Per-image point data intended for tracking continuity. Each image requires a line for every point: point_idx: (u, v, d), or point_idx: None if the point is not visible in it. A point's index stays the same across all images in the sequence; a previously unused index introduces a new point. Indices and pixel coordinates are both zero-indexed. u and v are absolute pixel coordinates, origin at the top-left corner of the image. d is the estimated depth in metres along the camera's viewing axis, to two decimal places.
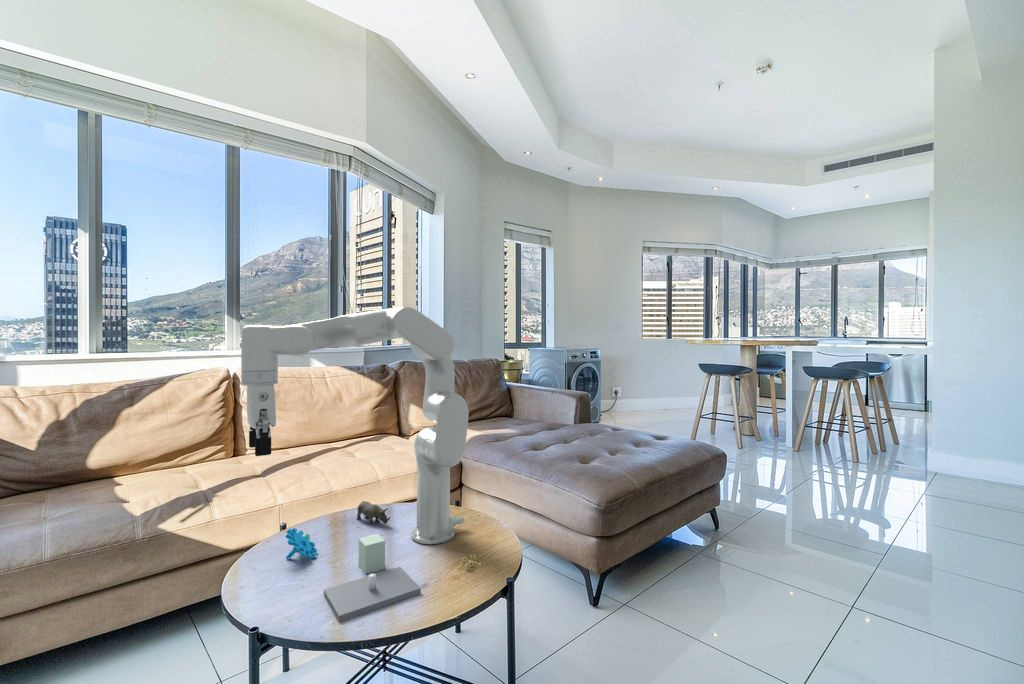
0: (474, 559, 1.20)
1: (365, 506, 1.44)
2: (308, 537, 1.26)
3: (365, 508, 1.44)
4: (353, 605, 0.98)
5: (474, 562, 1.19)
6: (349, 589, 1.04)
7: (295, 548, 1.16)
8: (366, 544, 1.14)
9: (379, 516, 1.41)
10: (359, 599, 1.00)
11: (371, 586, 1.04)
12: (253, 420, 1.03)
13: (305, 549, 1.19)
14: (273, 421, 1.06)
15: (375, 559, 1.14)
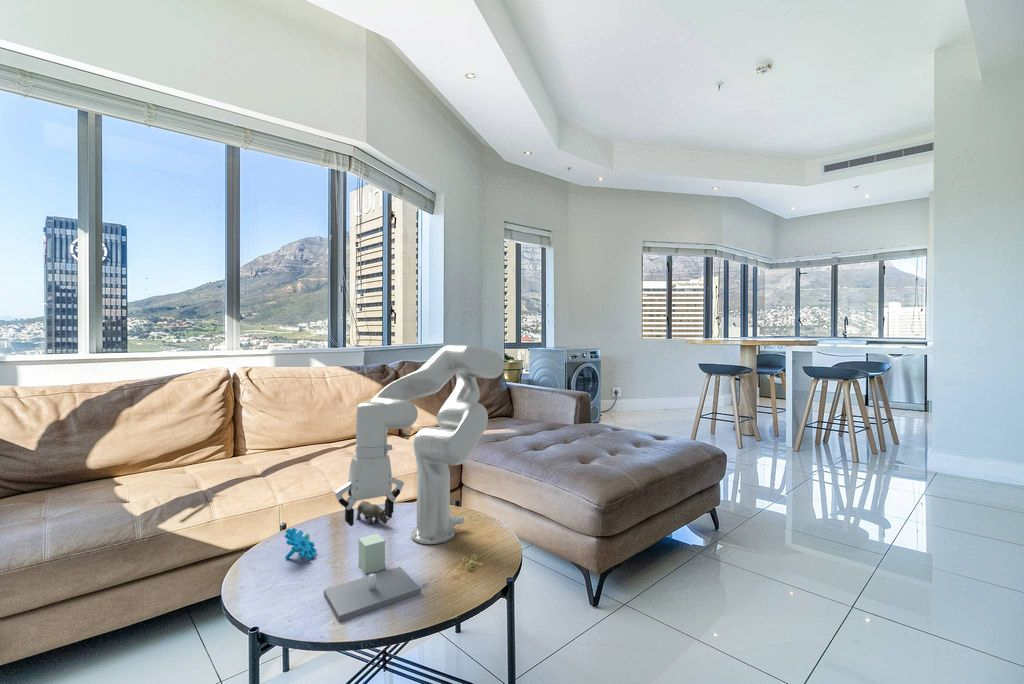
0: (475, 559, 1.20)
1: (365, 506, 1.44)
2: (308, 537, 1.26)
3: (364, 508, 1.44)
4: (353, 605, 0.98)
5: (475, 562, 1.19)
6: (349, 589, 1.04)
7: (294, 548, 1.16)
8: (366, 544, 1.14)
9: (379, 516, 1.41)
10: (359, 599, 1.00)
11: (371, 586, 1.04)
12: (391, 487, 1.17)
13: (304, 549, 1.19)
14: None
15: (375, 559, 1.14)
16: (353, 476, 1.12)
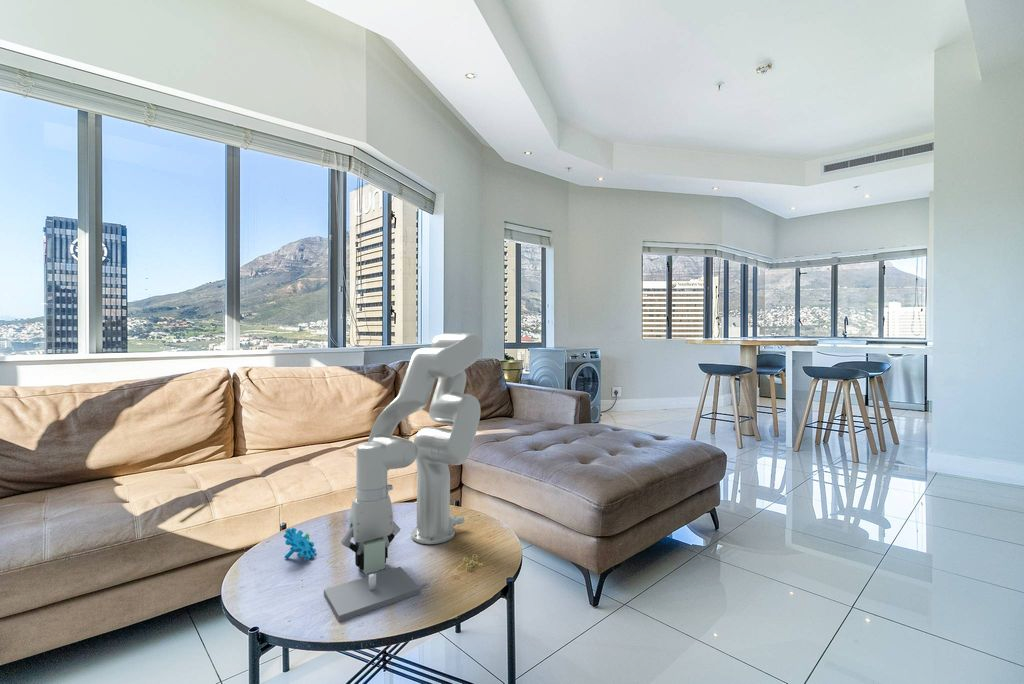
0: (476, 559, 1.20)
1: None
2: (307, 537, 1.26)
3: None
4: (353, 605, 0.98)
5: (475, 562, 1.19)
6: (349, 589, 1.04)
7: (292, 548, 1.16)
8: (366, 544, 1.14)
9: None
10: (359, 599, 1.00)
11: (371, 586, 1.04)
12: (392, 526, 1.17)
13: (303, 549, 1.19)
14: None
15: (375, 559, 1.14)
16: (354, 519, 1.12)
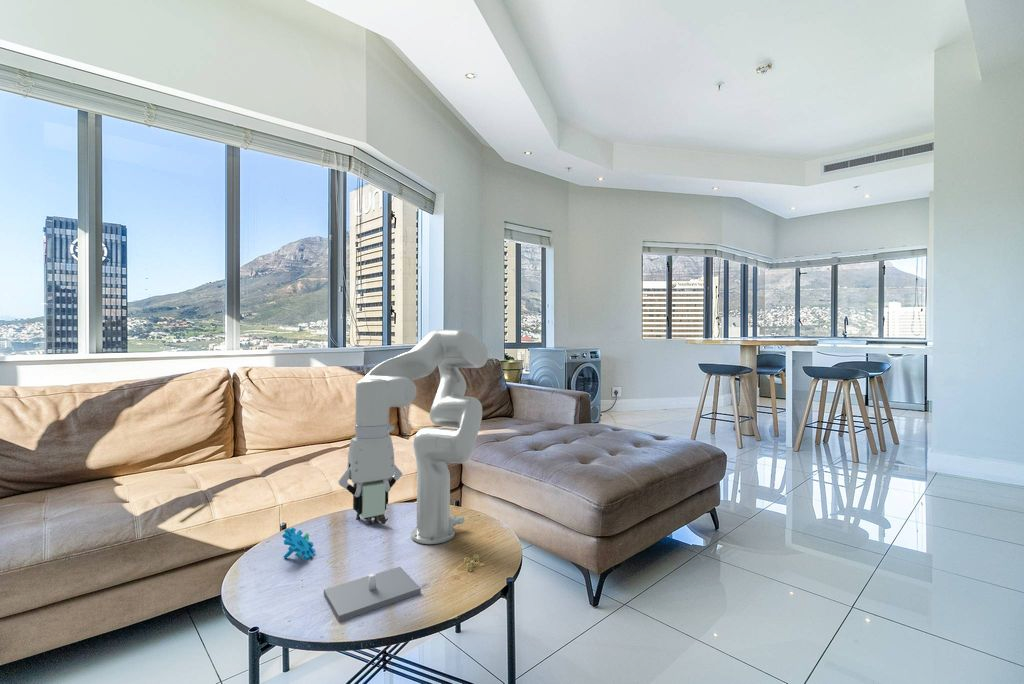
0: (477, 559, 1.20)
1: None
2: (307, 537, 1.26)
3: None
4: (353, 605, 0.98)
5: (476, 562, 1.19)
6: (349, 589, 1.04)
7: (290, 548, 1.16)
8: (365, 486, 1.05)
9: (377, 517, 1.41)
10: (359, 599, 1.00)
11: (371, 586, 1.04)
12: (393, 469, 1.09)
13: (301, 549, 1.19)
14: None
15: (375, 502, 1.06)
16: (352, 457, 1.04)
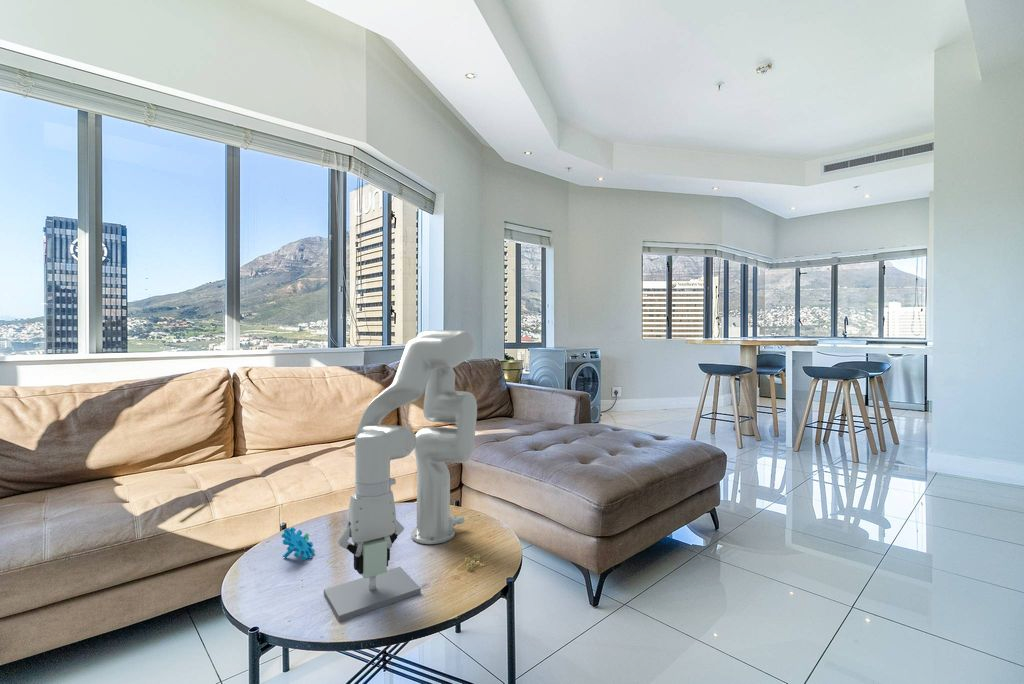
0: (477, 559, 1.20)
1: None
2: (306, 537, 1.26)
3: None
4: (353, 605, 0.98)
5: (477, 562, 1.18)
6: (349, 589, 1.04)
7: (289, 548, 1.16)
8: (366, 545, 1.01)
9: None
10: (359, 599, 1.00)
11: (371, 586, 1.04)
12: (395, 525, 1.05)
13: (300, 549, 1.19)
14: None
15: (376, 561, 1.02)
16: (353, 516, 1.00)
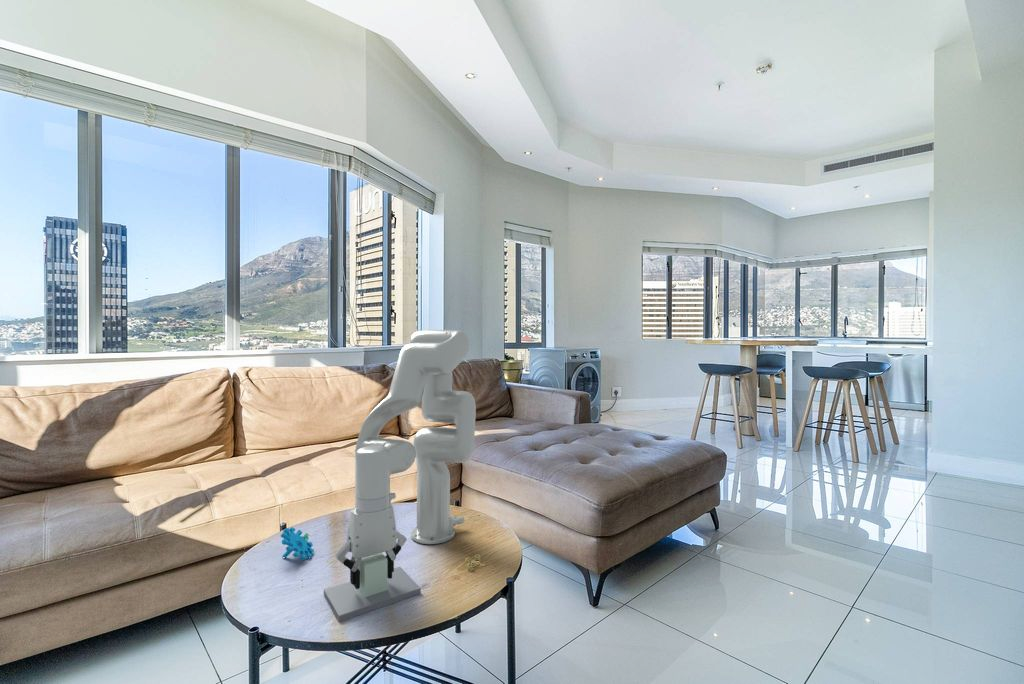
0: (478, 560, 1.20)
1: None
2: (306, 537, 1.26)
3: None
4: (353, 605, 0.98)
5: (477, 563, 1.18)
6: (349, 589, 1.04)
7: (288, 548, 1.16)
8: (366, 563, 1.02)
9: None
10: (359, 599, 1.00)
11: None
12: (395, 540, 1.05)
13: (299, 549, 1.19)
14: None
15: (377, 580, 1.02)
16: (353, 532, 1.00)
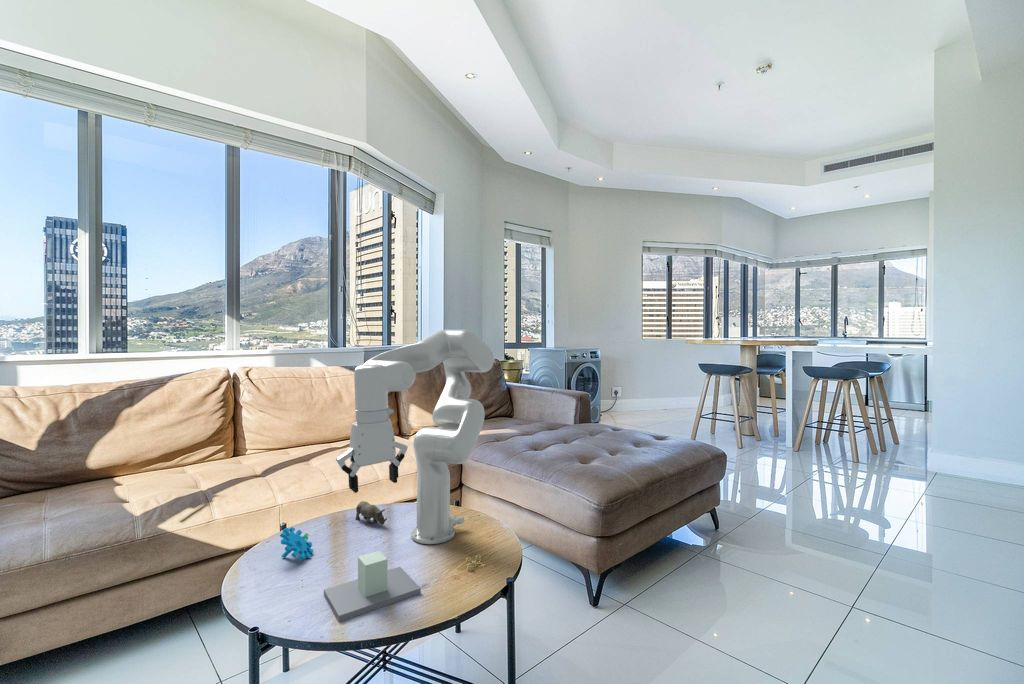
0: (479, 560, 1.20)
1: (364, 507, 1.44)
2: (306, 537, 1.26)
3: (363, 508, 1.44)
4: (353, 605, 0.98)
5: (478, 563, 1.18)
6: (349, 589, 1.04)
7: (287, 548, 1.17)
8: (366, 563, 1.02)
9: (376, 517, 1.41)
10: (359, 599, 1.00)
11: None
12: (394, 451, 1.13)
13: (298, 549, 1.19)
14: None
15: (377, 580, 1.02)
16: (355, 442, 1.07)
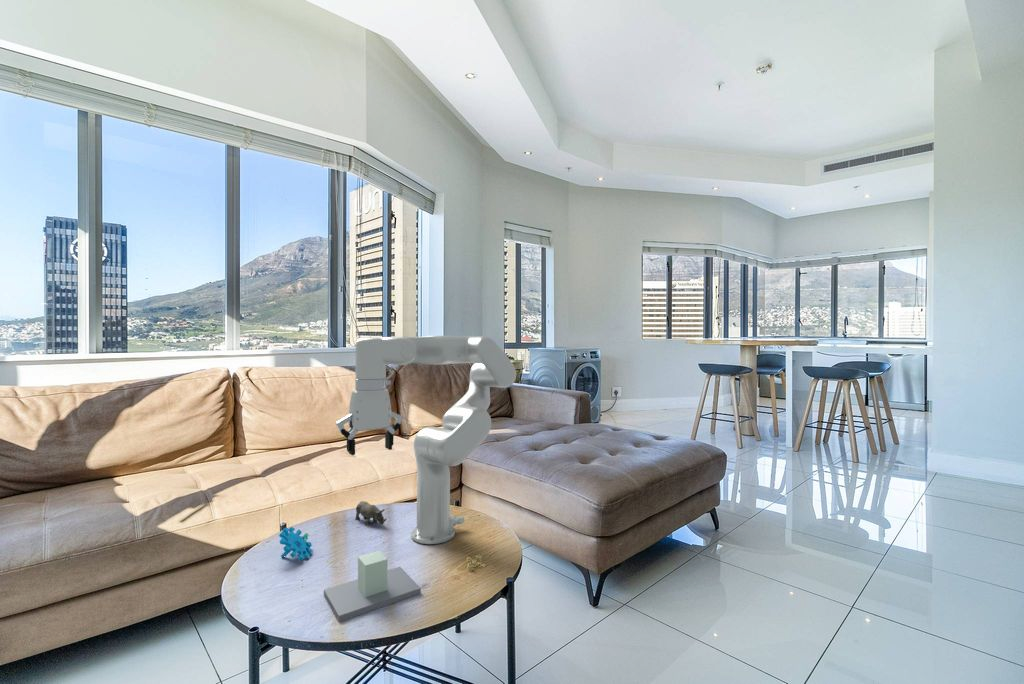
0: (479, 560, 1.20)
1: (363, 507, 1.44)
2: (306, 537, 1.26)
3: (362, 508, 1.44)
4: (353, 605, 0.98)
5: (478, 563, 1.18)
6: (349, 589, 1.04)
7: (285, 548, 1.17)
8: (366, 563, 1.02)
9: (376, 517, 1.41)
10: (359, 599, 1.00)
11: None
12: (390, 419, 1.21)
13: (297, 549, 1.19)
14: None
15: (377, 580, 1.02)
16: (353, 407, 1.16)
